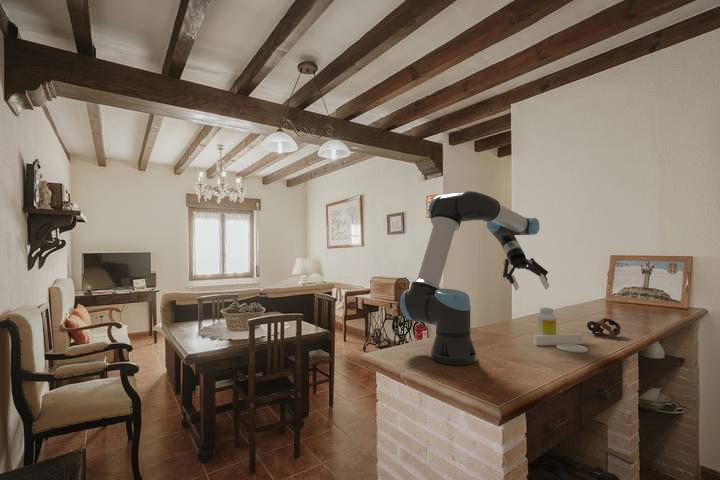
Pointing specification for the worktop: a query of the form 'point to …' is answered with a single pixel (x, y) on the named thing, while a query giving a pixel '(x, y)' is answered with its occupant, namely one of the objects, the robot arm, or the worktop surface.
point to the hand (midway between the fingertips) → (532, 288)
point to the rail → (558, 339)
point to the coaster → (572, 348)
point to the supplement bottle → (546, 322)
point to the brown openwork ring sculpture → (605, 326)
